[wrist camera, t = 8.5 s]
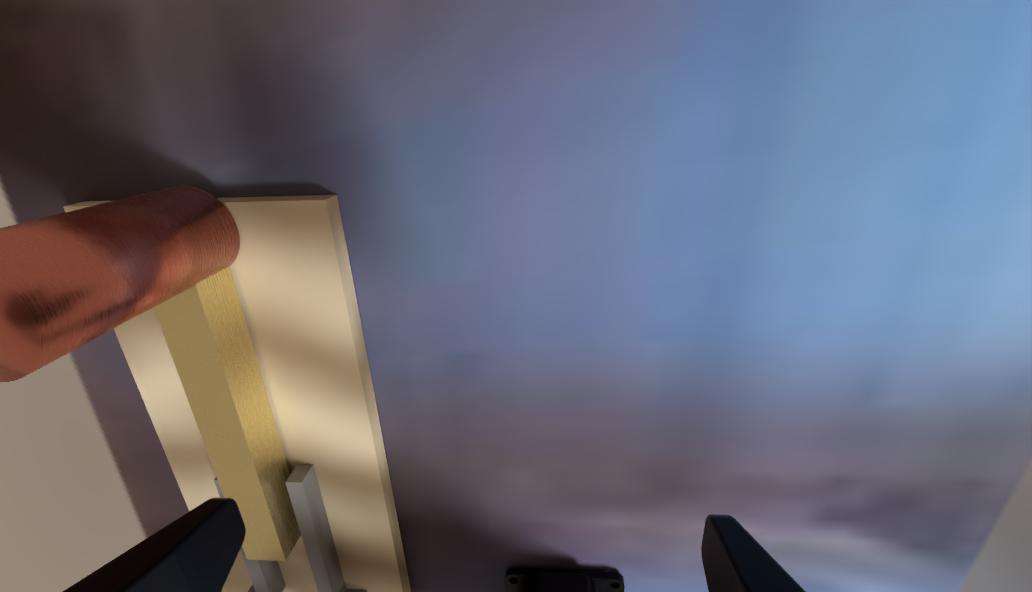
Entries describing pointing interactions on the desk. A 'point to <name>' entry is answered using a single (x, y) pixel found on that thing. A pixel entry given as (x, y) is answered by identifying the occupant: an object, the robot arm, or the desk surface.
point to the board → (292, 400)
